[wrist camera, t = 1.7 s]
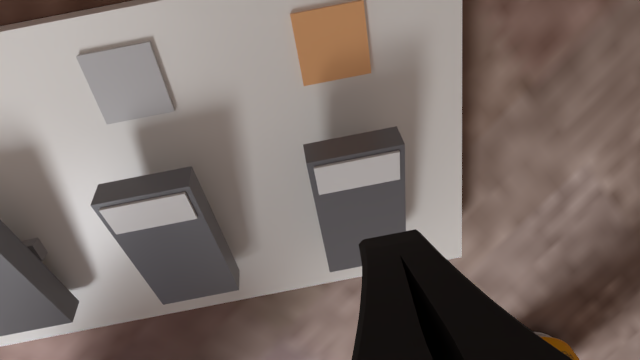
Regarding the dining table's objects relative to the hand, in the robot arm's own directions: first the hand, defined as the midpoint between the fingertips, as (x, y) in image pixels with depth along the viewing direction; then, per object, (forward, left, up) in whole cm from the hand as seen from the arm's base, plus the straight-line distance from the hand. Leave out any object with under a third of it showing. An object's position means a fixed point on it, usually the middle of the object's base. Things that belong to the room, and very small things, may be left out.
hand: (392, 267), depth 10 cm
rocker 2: (-2, +7, -6) cm, 9 cm away
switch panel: (-1, +7, -9) cm, 12 cm away
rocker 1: (-2, +14, -6) cm, 15 cm away
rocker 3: (-2, 0, -6) cm, 6 cm away
